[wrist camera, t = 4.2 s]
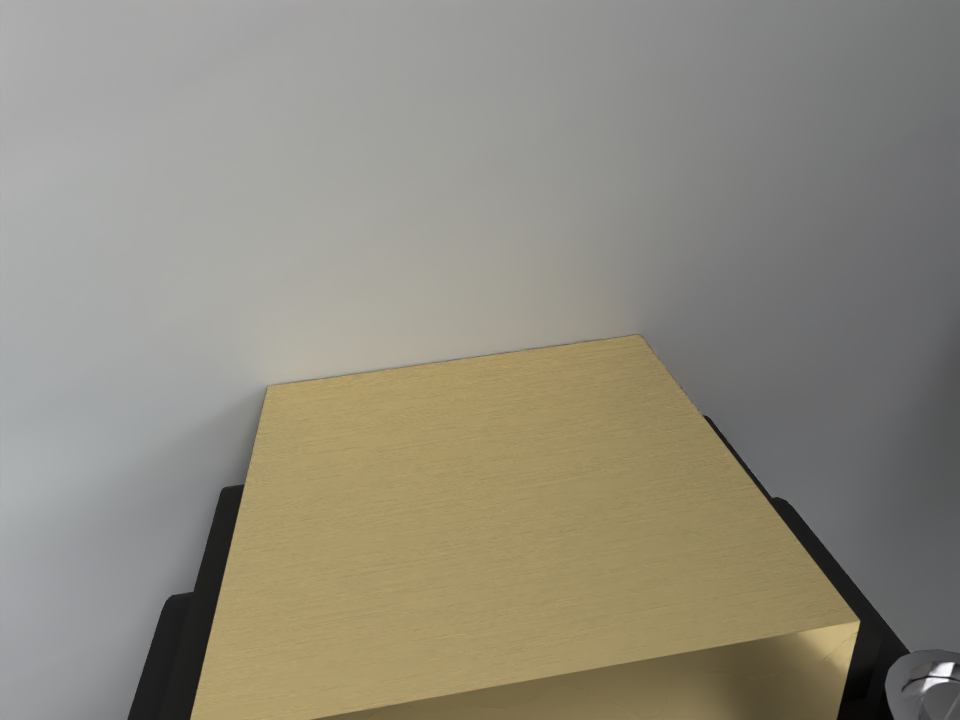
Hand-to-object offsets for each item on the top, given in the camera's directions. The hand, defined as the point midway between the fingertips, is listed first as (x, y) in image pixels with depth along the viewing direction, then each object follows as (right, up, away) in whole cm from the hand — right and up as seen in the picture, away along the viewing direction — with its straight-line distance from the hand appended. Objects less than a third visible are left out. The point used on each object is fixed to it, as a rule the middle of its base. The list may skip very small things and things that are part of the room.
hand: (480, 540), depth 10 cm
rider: (0, 0, +1) cm, 1 cm away
